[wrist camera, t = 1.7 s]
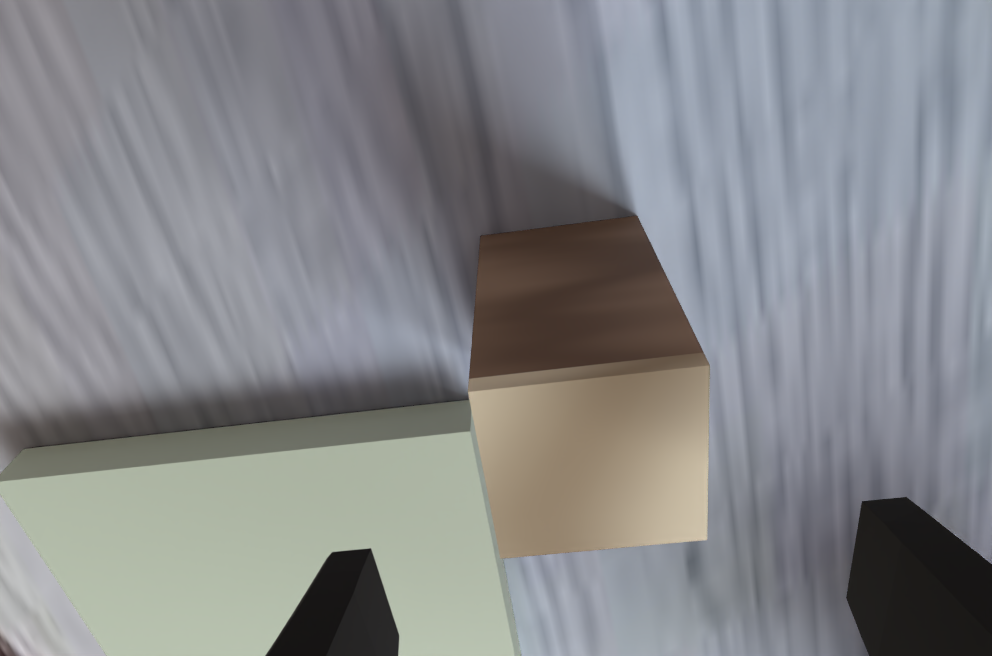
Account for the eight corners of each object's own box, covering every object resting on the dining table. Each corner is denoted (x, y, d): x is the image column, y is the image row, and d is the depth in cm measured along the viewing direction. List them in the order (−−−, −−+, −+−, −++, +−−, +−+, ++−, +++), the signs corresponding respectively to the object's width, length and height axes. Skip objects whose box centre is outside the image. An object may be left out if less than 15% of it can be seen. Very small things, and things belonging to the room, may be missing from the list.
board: (472, 399, 20) (470, 431, 19) (528, 689, 27) (529, 727, 26) (23, 448, 21) (-8, 482, 20) (186, 715, 28) (171, 754, 27)
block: (637, 215, 17) (709, 365, 11) (642, 350, 19) (707, 539, 13) (480, 235, 18) (467, 392, 11) (501, 366, 20) (500, 558, 13)
